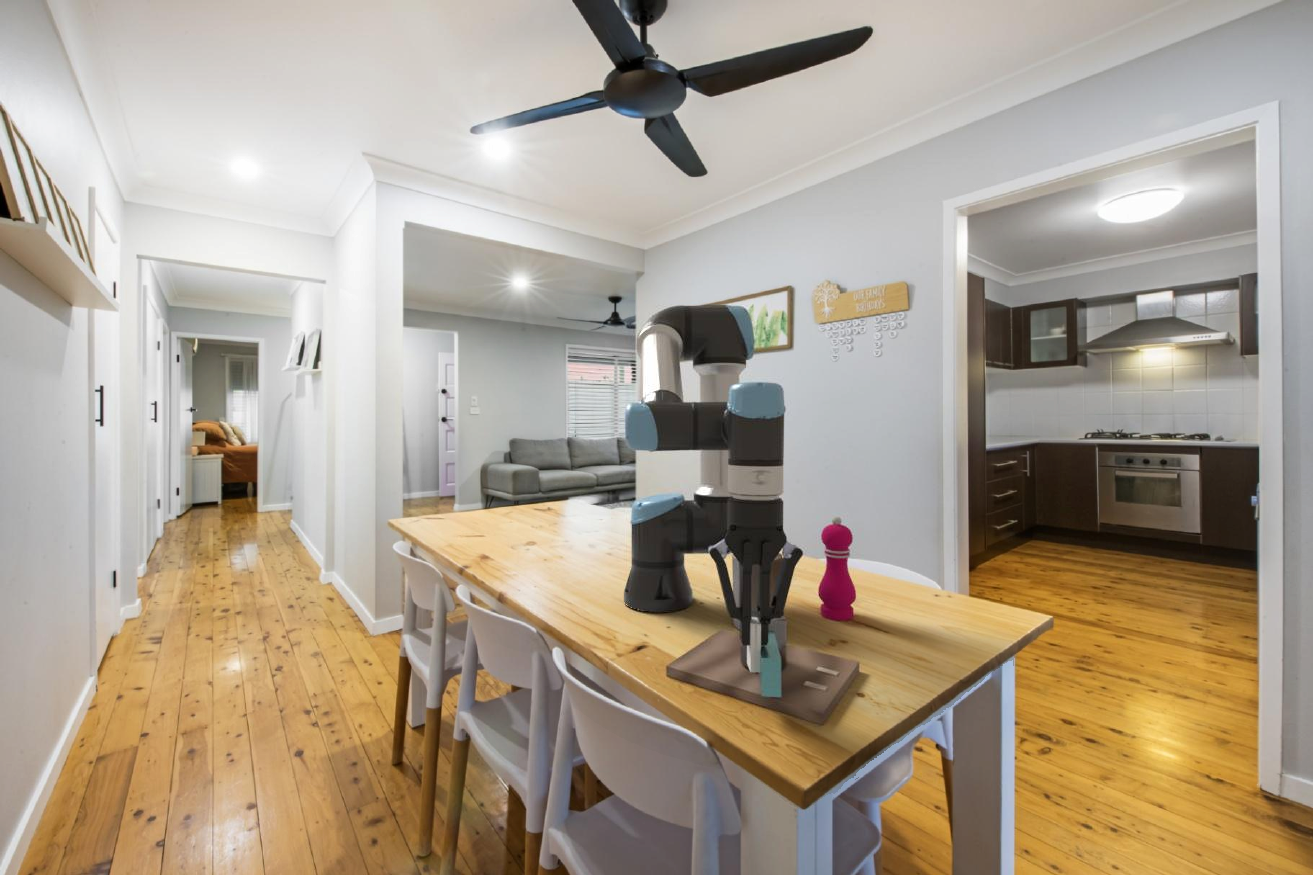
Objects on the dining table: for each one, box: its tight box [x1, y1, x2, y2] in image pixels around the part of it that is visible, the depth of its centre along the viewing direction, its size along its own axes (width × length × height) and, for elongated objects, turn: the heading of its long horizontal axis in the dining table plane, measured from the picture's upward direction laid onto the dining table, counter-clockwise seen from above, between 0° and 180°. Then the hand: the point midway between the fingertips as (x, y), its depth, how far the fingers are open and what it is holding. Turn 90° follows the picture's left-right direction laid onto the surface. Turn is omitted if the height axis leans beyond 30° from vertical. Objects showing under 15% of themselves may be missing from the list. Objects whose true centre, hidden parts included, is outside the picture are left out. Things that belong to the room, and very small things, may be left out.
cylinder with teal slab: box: [740, 611, 788, 697], centre depth 76 cm, size 7×16×7 cm, turn 173°
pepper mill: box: [817, 516, 857, 622], centre depth 106 cm, size 7×7×20 cm
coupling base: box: [665, 629, 860, 726], centre depth 81 cm, size 24×18×2 cm
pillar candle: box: [731, 552, 785, 631], centre depth 101 cm, size 10×10×15 cm
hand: (753, 667), depth 72 cm, fingers closed
